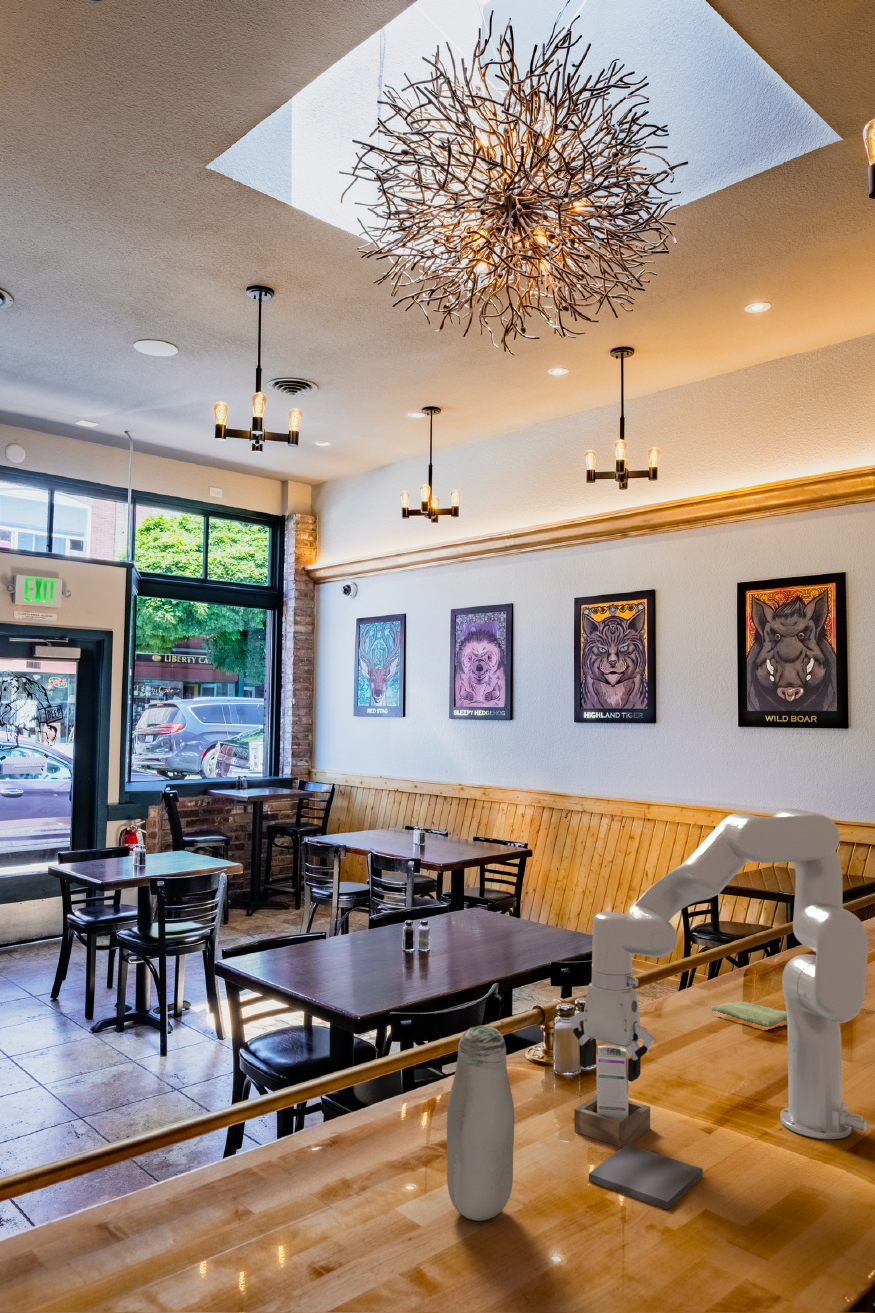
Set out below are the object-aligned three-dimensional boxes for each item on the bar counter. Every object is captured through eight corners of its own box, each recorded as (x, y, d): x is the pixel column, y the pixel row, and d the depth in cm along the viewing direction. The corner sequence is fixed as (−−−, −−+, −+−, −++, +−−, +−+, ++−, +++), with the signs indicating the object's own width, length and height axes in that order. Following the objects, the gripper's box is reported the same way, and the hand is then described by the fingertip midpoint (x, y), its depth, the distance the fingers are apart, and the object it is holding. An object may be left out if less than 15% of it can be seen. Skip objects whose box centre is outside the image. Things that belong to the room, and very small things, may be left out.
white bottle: (493, 1239, 133) (495, 1043, 135) (434, 1218, 138) (437, 1030, 140) (523, 1209, 141) (524, 1025, 143) (467, 1191, 147) (469, 1014, 149)
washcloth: (738, 1008, 247) (737, 996, 248) (796, 1025, 233) (796, 1013, 233) (707, 1016, 240) (707, 1003, 240) (765, 1035, 225) (765, 1022, 226)
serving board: (702, 1176, 153) (702, 1168, 153) (667, 1210, 142) (667, 1202, 142) (627, 1151, 161) (627, 1144, 161) (588, 1181, 150) (588, 1173, 150)
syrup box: (628, 1138, 166) (628, 1057, 167) (596, 1135, 168) (596, 1054, 169) (628, 1125, 172) (628, 1046, 173) (597, 1122, 173) (597, 1044, 174)
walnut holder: (650, 1128, 171) (650, 1106, 171) (625, 1148, 162) (625, 1125, 163) (601, 1113, 177) (601, 1092, 177) (574, 1131, 169) (574, 1109, 169)
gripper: (662, 985, 169) (661, 1079, 168) (581, 967, 180) (579, 1056, 179) (645, 993, 164) (643, 1091, 162) (562, 974, 174) (560, 1066, 173)
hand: (609, 1072), depth 170 cm, fingers open, 9 cm apart
